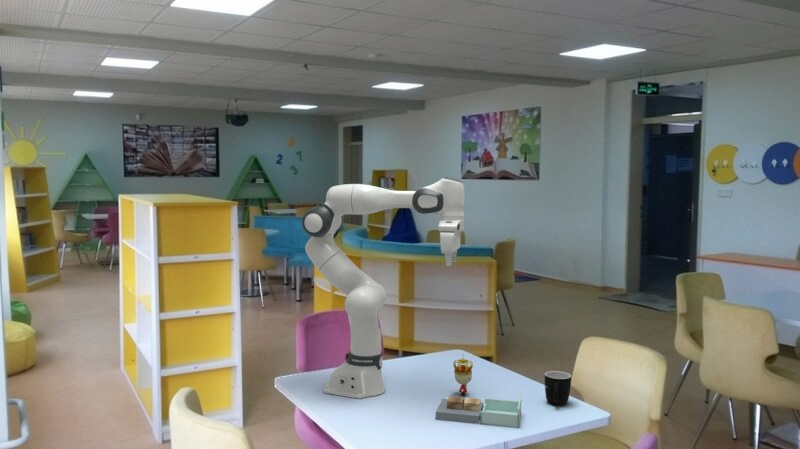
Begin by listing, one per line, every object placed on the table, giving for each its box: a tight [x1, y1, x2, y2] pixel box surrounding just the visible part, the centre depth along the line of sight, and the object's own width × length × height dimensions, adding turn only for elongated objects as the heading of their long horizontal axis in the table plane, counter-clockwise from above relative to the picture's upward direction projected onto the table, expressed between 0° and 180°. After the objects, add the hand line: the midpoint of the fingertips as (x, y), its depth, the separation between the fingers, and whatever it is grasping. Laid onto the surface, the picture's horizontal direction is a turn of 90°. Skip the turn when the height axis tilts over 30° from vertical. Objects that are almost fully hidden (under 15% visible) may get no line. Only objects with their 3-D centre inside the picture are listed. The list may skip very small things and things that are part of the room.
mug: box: [544, 370, 572, 407], centre depth 224 cm, size 12×9×10 cm
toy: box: [453, 353, 474, 397], centre depth 233 cm, size 7×7×15 cm
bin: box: [479, 395, 522, 429], centre depth 210 cm, size 12×13×6 cm
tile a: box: [464, 397, 482, 412], centre depth 212 cm, size 5×5×2 cm
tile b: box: [447, 395, 465, 410], centre depth 214 cm, size 5×5×2 cm
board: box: [435, 398, 485, 425], centre depth 214 cm, size 14×13×2 cm
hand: (450, 264), depth 226 cm, fingers open, 8 cm apart
